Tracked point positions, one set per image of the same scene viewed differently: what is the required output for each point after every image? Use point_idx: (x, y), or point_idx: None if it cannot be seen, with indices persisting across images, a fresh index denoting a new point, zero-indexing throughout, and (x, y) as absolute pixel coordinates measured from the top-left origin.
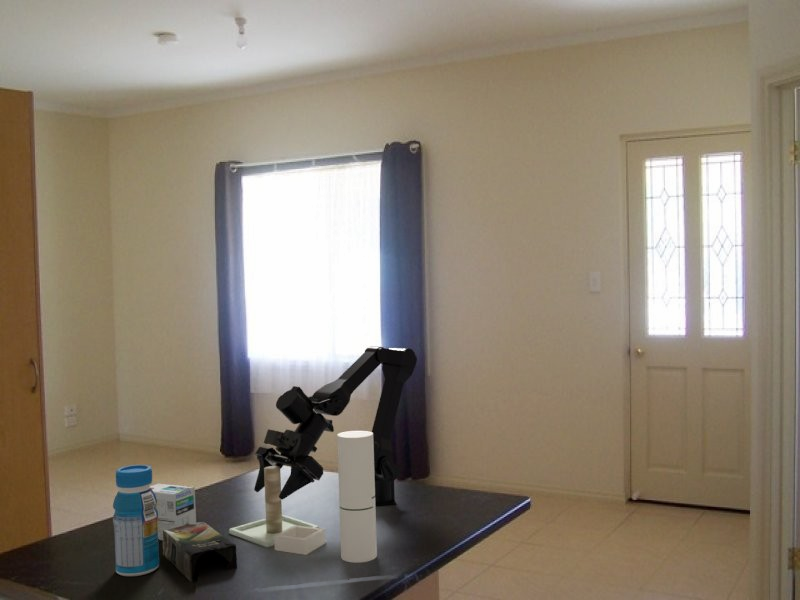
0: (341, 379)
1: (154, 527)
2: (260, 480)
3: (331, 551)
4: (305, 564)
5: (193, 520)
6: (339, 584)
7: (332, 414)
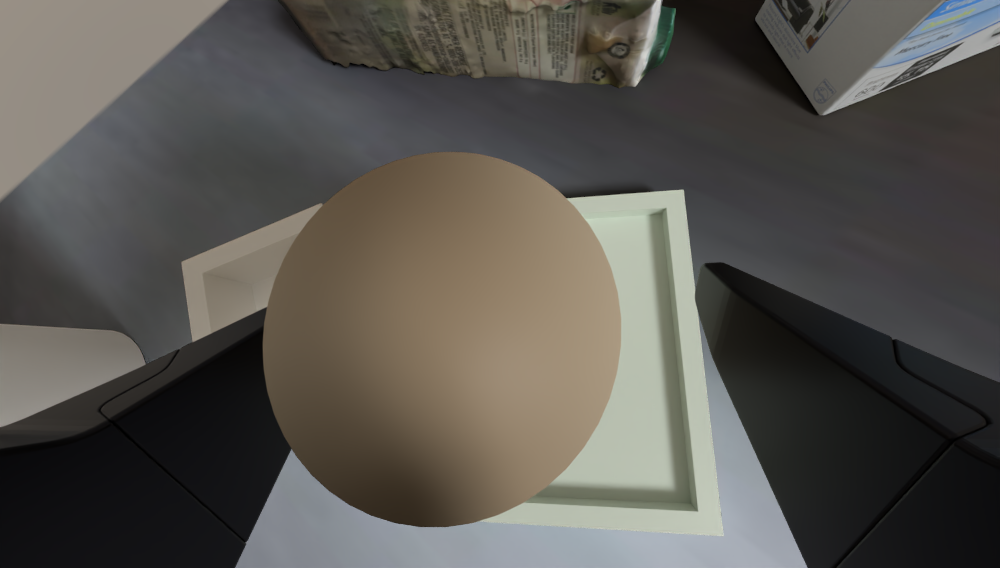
0: None
1: None
2: (762, 332)
3: None
4: (205, 239)
5: (857, 44)
6: (44, 218)
7: None
